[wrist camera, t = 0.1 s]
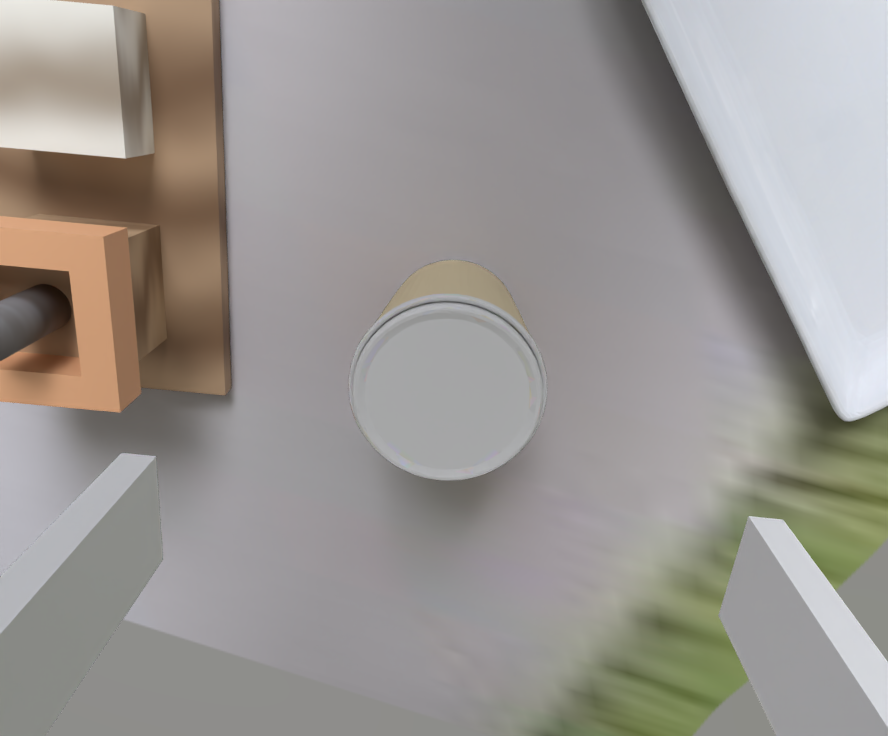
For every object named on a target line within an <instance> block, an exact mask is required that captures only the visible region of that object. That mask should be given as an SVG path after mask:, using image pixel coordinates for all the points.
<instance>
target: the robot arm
mask: <svg viewBox="0 0 888 736" xmlns="http://www.w3.org/2000/svg"><path fill="white" fill-rule="evenodd" d="M162 560H163V549H162V534H161V519H160V505H159V490H158V475H157V460H156V456H149V455H139V454H129V453H121V454H120V455H119V456H118V457H117V458H116V459H115V460H114V461H113V462H112V463H111V464H110V465H109V466H108V467H107V468H106V469H105V470H104V471H103V472H102V473H101V474H100V475H99V476H98V477H97V478H96V479H95V480H94V481H93V482H92V483H91V484H90V485H89V487H88V488H87V489H86V490H85V491H84V492H83V493H82V494H81V495H80V496H79V497H78V498H77V499H76V500H75V501H74V502H73V503H72V504H71V505H70V506H69V507H68V508H67V509H66V510H65V511H64V512H63V513H62V514H61V515H60V516H59V517H58V518H57V519H56V520H55V521H54V522H53V523H52V524H51V525H50V526H49V527H48V528H47V529H46V530H45V531H44V532H43V533H42V534H41V535H40V536H39V537H38V538H37V539H36V540H35V541H34V543H33V544H32V545H31V546H30V547H29V548H28V549H27V550H26V551H25V552H24V553H23V554H22V555H21V556H20V557H19V558H18V559H17V560H16V561H15V562H14V563H13V564H12V565H11V566H10V567H9V568H8V569H7V570H6V571H5V572H4V573H3V574H2V575H1V576H0V736H46V734H47V733H48V731H49V730H50V728H51V727H52V725H53V724H54V722H55V721H56V719H57V718H58V716H59V715H60V713H61V712H62V710H63V709H64V707H65V706H66V704H67V703H68V701H69V700H70V698H71V697H72V695H73V694H74V692H75V691H76V689H77V688H78V686H79V685H80V683H81V682H82V680H83V679H84V677H85V676H86V674H87V672H88V671H89V670H90V668H91V666H92V665H93V664H94V662H95V661H96V659H97V658H98V656H99V655H100V653H101V652H102V650H103V649H104V647H105V646H106V644H107V643H108V641H109V640H110V638H111V637H112V635H113V634H114V632H115V631H116V629H117V628H118V626H119V625H120V623H121V621H122V620H123V619H124V617H125V616H126V614H127V613H128V611H129V610H130V608H131V607H132V605H133V604H134V602H135V601H136V599H137V598H138V596H139V595H140V593H141V592H142V590H143V589H144V587H145V586H146V584H147V583H148V581H149V580H150V578H151V577H152V575H153V574H154V572H155V571H156V569H157V568H158V566H159V565H160V563H161V562H162ZM719 617H720V620H721V622H722V624H723V626H724V628H725V630H726V632H727V634H728V636H729V638H730V641H731V643H732V645H733V647H734V649H735V651H736V653H737V655H738V657H739V659H740V662H741V664H742V666H743V668H744V670H745V672H746V674H747V676H748V678H749V681H750V683H751V685H752V687H753V689H754V691H755V693H756V695H757V697H758V699H759V702H760V704H761V706H762V708H763V710H764V712H765V714H766V716H767V718H768V720H769V722H770V725H771V727H772V729H773V731H774V733H775V735H776V736H888V662H887V660H886V659H885V658H884V656H883V655H882V654H881V652H880V651H879V649H878V648H877V647H876V645H875V644H874V643H873V641H872V640H871V639H870V637H869V636H868V635H867V633H866V632H865V631H864V629H863V628H862V626H861V625H860V624H859V622H858V621H857V620H856V618H855V617H854V616H853V614H852V613H851V611H850V610H849V609H848V607H847V606H846V605H845V603H844V602H843V601H842V599H841V598H840V596H839V595H838V594H837V592H836V591H835V590H834V588H833V587H832V586H831V584H830V583H829V581H828V580H827V579H826V577H825V576H824V575H823V573H822V572H821V571H820V569H819V568H818V566H817V565H816V564H815V562H814V561H813V560H812V558H811V557H810V556H809V554H808V553H807V552H806V550H805V549H804V547H803V546H802V545H801V543H800V542H799V541H798V539H797V538H796V537H795V535H794V534H793V532H792V531H791V530H790V528H789V527H788V526H787V524H786V523H785V522H784V520H781V519H771V518H761V517H752V516H748V520H747V523H746V526H745V530H744V533H743V536H742V540H741V543H740V546H739V549H738V553H737V556H736V559H735V563H734V566H733V569H732V573H731V576H730V579H729V583H728V586H727V589H726V593H725V596H724V599H723V603H722V606H721V609H720V613H719Z"/></svg>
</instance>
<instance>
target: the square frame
mask: <svg viewBox="0 0 888 736" xmlns="http://www.w3.org/2000/svg"><path fill="white" fill-rule="evenodd" d="M0 265H6V266H17V267H28V268H39V269H49V270H60V271H69V276H70V284H71V293H72V301H73V310H74V318H75V327H76V335H77V344H78V352H79V357H70V356H59V355H48V354H38V353H27V352H16V353H14V354H13V355H11V356H9V357H7V358H6V359H4V360H2V361H0V401H1V402H12V403H23V404H34V405H45V406H55V407H66V408H77V409H88V410H98V411H109V412H121V411H123V410H124V409H125V408H126V407H127V406H128V405H129V404H130V403H131V402H133V401H134V400H135V399H136V398H137V397H138V396H139V395H140V394H141V385H140V373H139V361H138V349H137V337H136V326H135V314H134V302H133V290H132V278H131V266H130V254H129V242H128V230H127V228H126V227H115V226H105V225H94V224H83V223H72V222H61V221H50V220H39V219H28V218H17V217H7V216H0Z"/></svg>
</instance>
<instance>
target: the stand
mask: <svg viewBox="0 0 888 736" xmlns="http://www.w3.org/2000/svg"><path fill="white" fill-rule="evenodd" d="M0 216H7V217H17V218H28V219H39V220H50V221H61V222H72V223H83V224H94V225H105V226H115V227H126V228H127V230H128V242H129V254H130V266H131V278H132V290H133V302H134V314H135V326H136V337H137V349H138V361H139V373H140V385H141V388H151V389H162V390H172V391H183V392H194V393H205V394H216V395H226V394H227V393H228V391H229V390H230V389H231V362H230V330H229V298H228V266H227V235H226V203H225V171H224V139H223V108H222V76H221V44H220V12H219V0H0ZM16 352H27V353H38V354H48V355H59V356H70V357H79V352H78V344H77V335H76V327H75V318H74V310H73V301H72V293H71V284H70V276H69V271H60V270H49V269H39V268H28V267H17V266H6V265H0V361H2V360H4V359H6V358H7V357H9V356H11V355H13V354H14V353H16Z"/></svg>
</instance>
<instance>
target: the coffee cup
mask: <svg viewBox="0 0 888 736" xmlns="http://www.w3.org/2000/svg"><path fill="white" fill-rule="evenodd" d="M348 390H349V400H350V405H351V409H352V412H353V415H354V418H355V420H356V423H357V425H358V427H359V429H360V430H361V432H362V434H363V435H364V437H365V438H366V439H367V441H368V442H369V443H370V444H371V445H372V446H373V447H374V449H375V450H376V451H377V452H378V453H379V454H380V455H382V456H383V457H384V458H385V459H386V460H388V461H389V462H390V463H392V464H393V465H395V466H396V467H398V468H400V469H402V470H404V471H406V472H408V473H410V474H413V475H416V476H419V477H423V478H427V479H433V480H442V481H455V480H464V479H470V478H474V477H478V476H481V475H484V474H487V473H489V472H491V471H493V470H495V469H497V468H499V467H501V466H502V465H504V464H505V463H507V462H508V461H509V460H511V459H512V458H513V457H514V456H516V455H517V454H518V453H519V452H520V451H521V450H522V449H523V448H524V447H525V446H526V445H527V444H528V442H529V441H530V440H531V438H532V437H533V435H534V434H535V432H536V430H537V428H538V426H539V424H540V422H541V419H542V417H543V414H544V410H545V406H546V399H547V375H546V370H545V365H544V362H543V359H542V356H541V354H540V352H539V350H538V348H537V345H536V344H535V342H534V341H533V339H532V337H531V336H530V334H529V333H528V330H527V328H526V326H525V324H524V322H523V319H522V317H521V315H520V313H519V311H518V309H517V307H516V305H515V303H514V301H513V299H512V297H511V295H510V293H509V292H508V290H507V288H506V287H505V286H504V284H503V283H502V282H501V281H500V280H499V279H498V278H497V277H496V276H495V275H494V274H493V273H492V272H490V271H489V270H487V269H486V268H484V267H482V266H480V265H477V264H475V263H471V262H468V261H462V260H443V261H438V262H435V263H432V264H429V265H426V266H424V267H422V268H421V269H419V270H417V271H416V272H415V273H413V274H412V275H411V276H410V277H409V278H408V279H407V280H406V281H405V282H404V283H403V284H402V286H401V287H400V288H399V289H398V291H397V292H396V294H395V295H394V296H393V298H392V299H391V301H390V302H389V304H388V305H387V306H386V308H385V309H384V311H383V312H382V314H381V315H380V317H379V318H378V320H377V321H376V322H375V323H374V324H373V326H372V327H371V328H370V329H369V330H368V331H367V333H366V334H365V335H364V337H363V338H362V340H361V342H360V343H359V345H358V347H357V349H356V352H355V354H354V356H353V360H352V363H351V367H350V373H349V387H348Z"/></svg>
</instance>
